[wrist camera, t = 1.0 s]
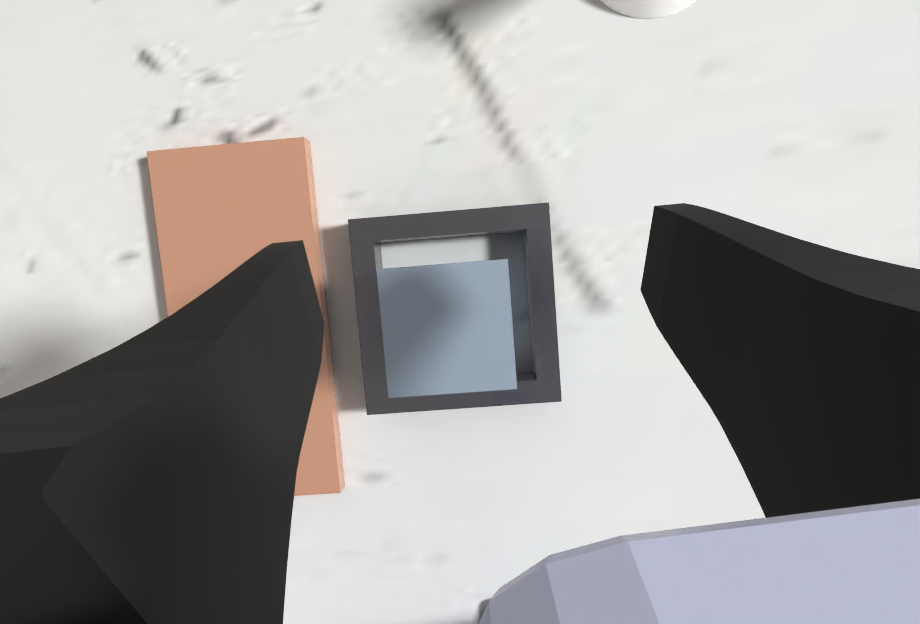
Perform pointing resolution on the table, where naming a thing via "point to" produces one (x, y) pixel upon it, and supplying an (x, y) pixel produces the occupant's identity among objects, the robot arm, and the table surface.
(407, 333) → the metal peg
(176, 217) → the terracotta tile
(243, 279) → the robot arm
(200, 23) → the table surface
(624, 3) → the white handled ring
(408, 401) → the iron collar
